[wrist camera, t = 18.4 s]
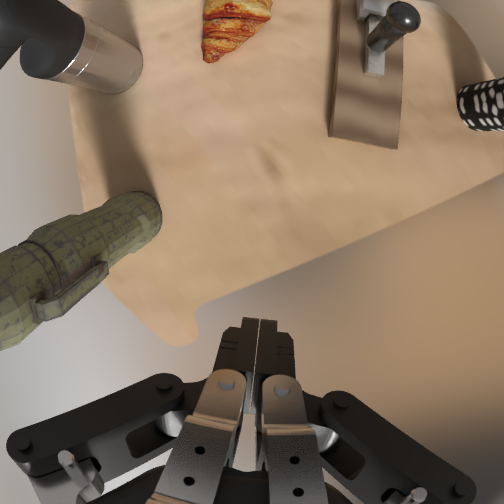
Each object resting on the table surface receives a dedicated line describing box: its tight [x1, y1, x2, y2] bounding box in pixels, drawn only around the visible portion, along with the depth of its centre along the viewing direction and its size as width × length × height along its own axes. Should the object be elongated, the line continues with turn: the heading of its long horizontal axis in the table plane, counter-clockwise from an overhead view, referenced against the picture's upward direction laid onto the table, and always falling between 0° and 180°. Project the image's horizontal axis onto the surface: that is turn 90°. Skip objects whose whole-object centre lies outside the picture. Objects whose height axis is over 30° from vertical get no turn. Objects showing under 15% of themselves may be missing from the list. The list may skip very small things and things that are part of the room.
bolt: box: [364, 1, 421, 78], centre depth 26 cm, size 12×4×14 cm, turn 175°
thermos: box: [0, 191, 162, 351], centre depth 31 cm, size 9×12×35 cm
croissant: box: [201, 0, 272, 63], centre depth 33 cm, size 21×10×8 cm, turn 157°
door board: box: [329, 0, 403, 149], centre depth 34 cm, size 26×10×8 cm, turn 175°
